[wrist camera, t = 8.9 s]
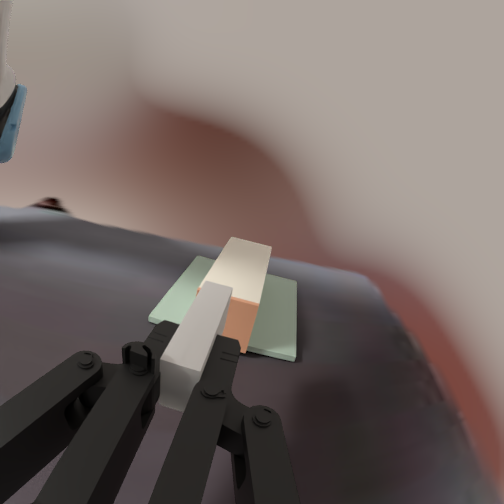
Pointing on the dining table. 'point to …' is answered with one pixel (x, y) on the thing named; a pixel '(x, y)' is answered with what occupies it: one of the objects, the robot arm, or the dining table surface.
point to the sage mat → (267, 319)
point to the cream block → (241, 284)
